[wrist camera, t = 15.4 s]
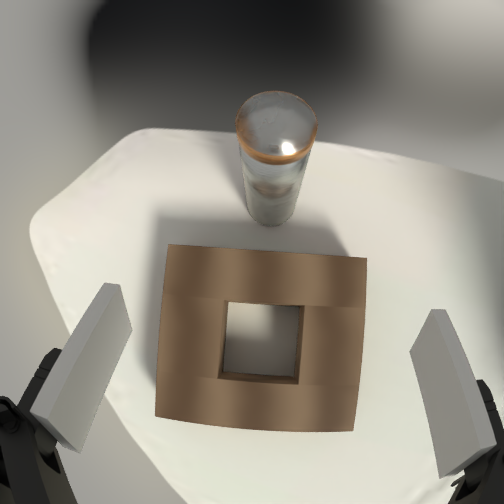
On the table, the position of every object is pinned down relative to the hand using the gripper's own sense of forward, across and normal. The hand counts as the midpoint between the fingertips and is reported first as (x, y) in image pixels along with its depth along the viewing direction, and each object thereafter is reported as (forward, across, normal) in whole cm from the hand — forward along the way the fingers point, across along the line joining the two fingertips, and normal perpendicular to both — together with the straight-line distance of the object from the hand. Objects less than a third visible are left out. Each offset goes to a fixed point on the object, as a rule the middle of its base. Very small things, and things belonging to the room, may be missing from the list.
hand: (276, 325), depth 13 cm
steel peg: (+22, -1, -5) cm, 22 cm away
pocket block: (+12, 0, -14) cm, 19 cm away
